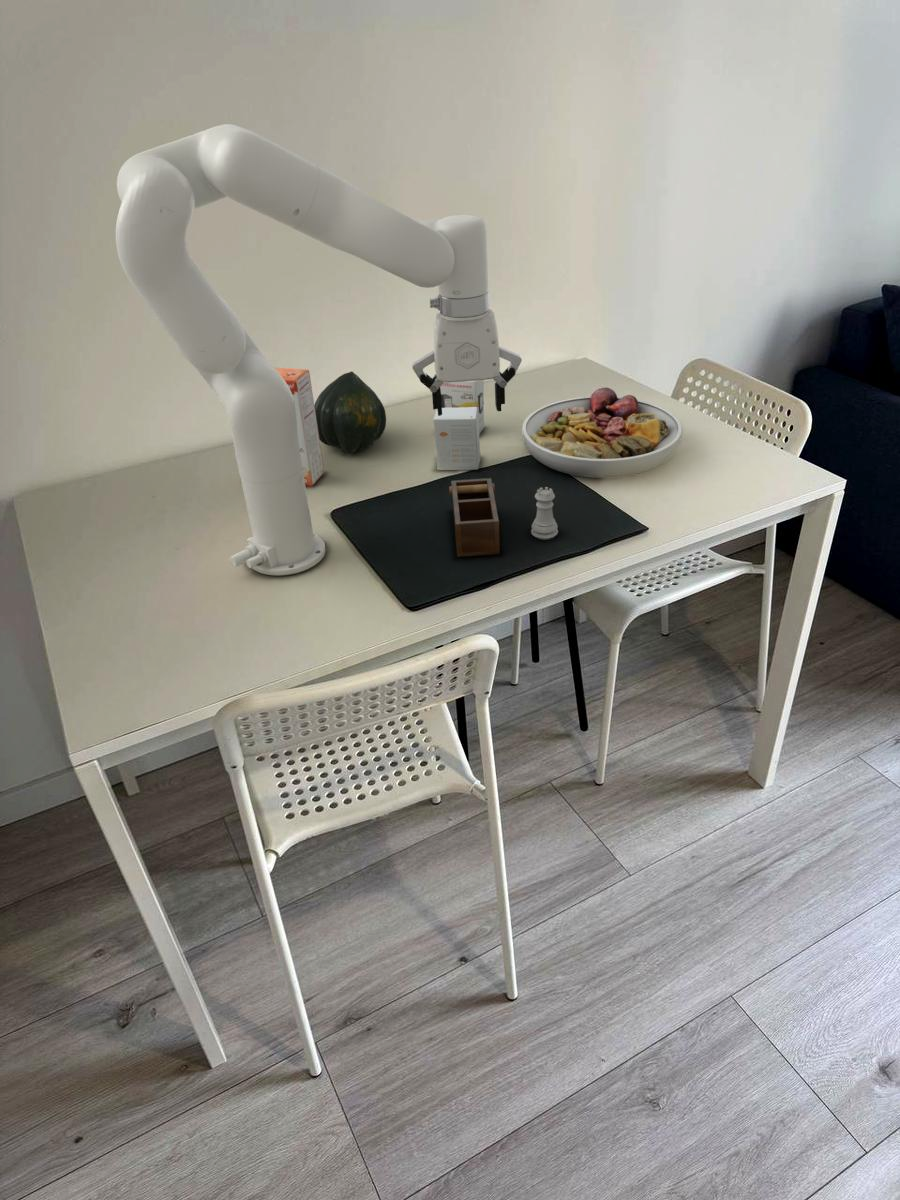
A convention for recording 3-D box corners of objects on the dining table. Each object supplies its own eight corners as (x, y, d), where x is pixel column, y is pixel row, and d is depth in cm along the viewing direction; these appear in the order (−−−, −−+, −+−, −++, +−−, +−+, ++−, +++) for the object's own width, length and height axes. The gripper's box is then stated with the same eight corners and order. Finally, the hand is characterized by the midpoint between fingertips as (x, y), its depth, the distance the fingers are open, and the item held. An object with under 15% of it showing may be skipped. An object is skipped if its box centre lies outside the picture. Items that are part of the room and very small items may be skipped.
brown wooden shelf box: (450, 511, 151) (448, 480, 147) (494, 508, 151) (493, 477, 147) (454, 557, 138) (452, 524, 135) (502, 553, 138) (501, 521, 135)
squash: (313, 443, 165) (355, 374, 162) (291, 419, 176) (329, 355, 174) (371, 475, 173) (411, 411, 170) (346, 451, 185) (383, 390, 182)
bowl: (684, 487, 154) (689, 446, 149) (515, 483, 158) (515, 444, 154) (675, 419, 178) (678, 382, 173) (528, 418, 183) (528, 382, 178)
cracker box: (245, 481, 165) (223, 375, 153) (260, 467, 170) (240, 363, 158) (312, 488, 161) (295, 379, 149) (325, 473, 166) (309, 367, 154)
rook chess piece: (536, 542, 141) (536, 499, 136) (527, 529, 144) (526, 487, 140) (562, 537, 142) (563, 494, 137) (552, 525, 145) (552, 482, 141)
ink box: (437, 433, 178) (434, 378, 172) (446, 424, 182) (443, 369, 176) (478, 437, 176) (475, 381, 169) (485, 427, 180) (484, 372, 173)
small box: (480, 457, 168) (478, 406, 162) (478, 470, 164) (476, 418, 158) (439, 458, 169) (436, 406, 163) (436, 470, 164) (433, 418, 158)
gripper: (407, 315, 129) (416, 423, 139) (523, 307, 129) (524, 415, 139) (407, 301, 135) (416, 405, 145) (517, 293, 135) (519, 398, 145)
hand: (469, 410), depth 142 cm, fingers open, 9 cm apart
